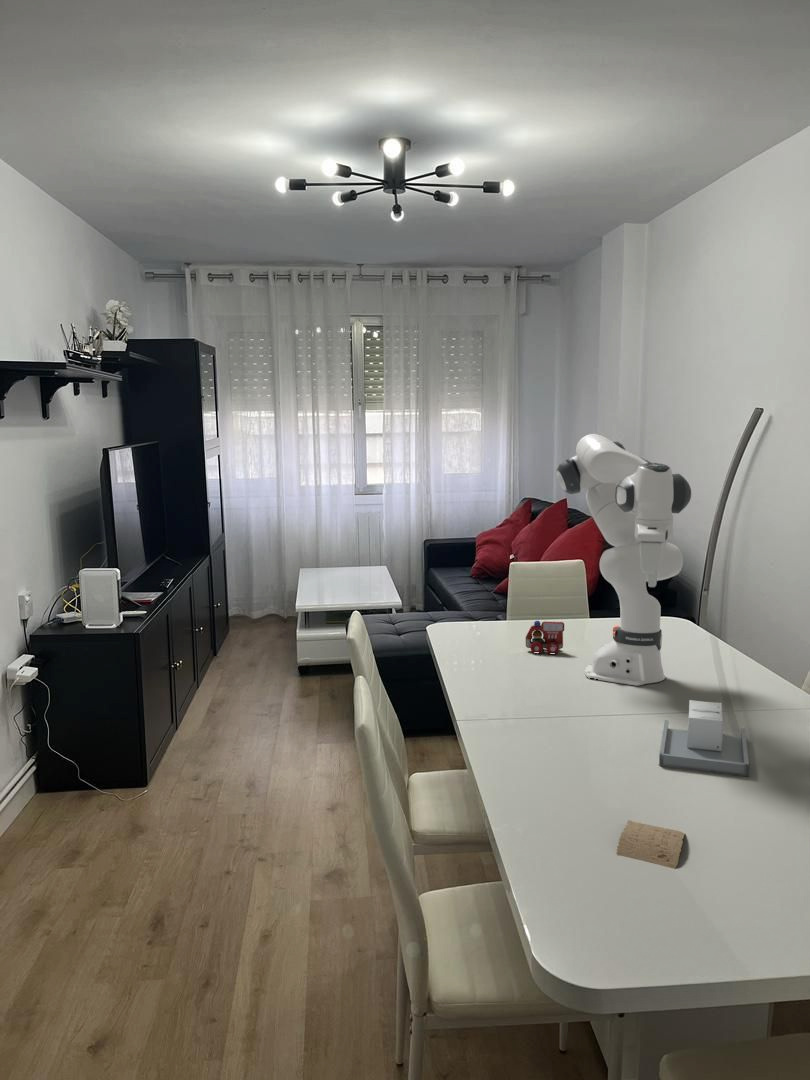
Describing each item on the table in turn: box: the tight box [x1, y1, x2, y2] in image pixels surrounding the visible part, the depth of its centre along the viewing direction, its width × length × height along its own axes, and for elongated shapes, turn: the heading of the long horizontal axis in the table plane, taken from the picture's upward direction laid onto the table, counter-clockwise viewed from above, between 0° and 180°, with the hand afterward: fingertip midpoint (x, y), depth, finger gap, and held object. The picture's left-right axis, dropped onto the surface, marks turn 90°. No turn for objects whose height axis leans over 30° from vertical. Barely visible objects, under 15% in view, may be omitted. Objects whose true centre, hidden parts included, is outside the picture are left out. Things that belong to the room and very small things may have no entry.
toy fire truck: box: [525, 620, 565, 654], centre depth 258 cm, size 7×12×10 cm, turn 75°
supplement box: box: [687, 699, 724, 752], centre depth 182 cm, size 7×7×13 cm
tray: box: [658, 719, 750, 778], centre depth 177 cm, size 18×22×2 cm
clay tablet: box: [616, 819, 687, 870], centre depth 138 cm, size 14×10×3 cm
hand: (652, 586), depth 196 cm, fingers closed
